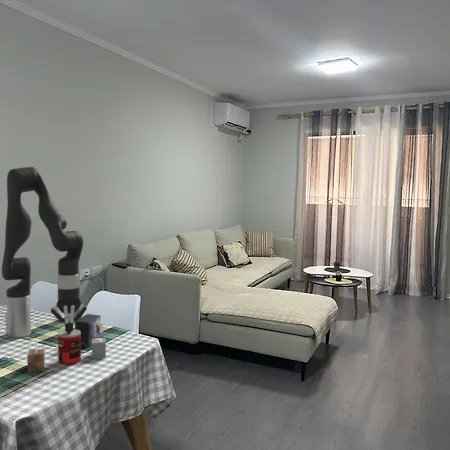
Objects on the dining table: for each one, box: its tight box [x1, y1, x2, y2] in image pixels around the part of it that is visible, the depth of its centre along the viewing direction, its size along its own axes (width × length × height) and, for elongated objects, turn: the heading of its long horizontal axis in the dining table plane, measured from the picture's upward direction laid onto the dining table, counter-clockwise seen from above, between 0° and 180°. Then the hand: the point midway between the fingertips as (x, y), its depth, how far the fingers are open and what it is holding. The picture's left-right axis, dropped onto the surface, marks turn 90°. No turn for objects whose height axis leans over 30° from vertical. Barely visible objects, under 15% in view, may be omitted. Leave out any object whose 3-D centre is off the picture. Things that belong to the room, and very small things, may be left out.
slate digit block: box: [91, 337, 107, 360], centre depth 171 cm, size 5×5×6 cm
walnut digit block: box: [26, 348, 46, 373], centre depth 159 cm, size 5×5×6 cm
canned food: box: [57, 328, 82, 366], centre depth 165 cm, size 8×8×11 cm
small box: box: [74, 313, 101, 348], centre depth 184 cm, size 11×6×10 cm, turn 168°
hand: (69, 332), depth 164 cm, fingers closed
